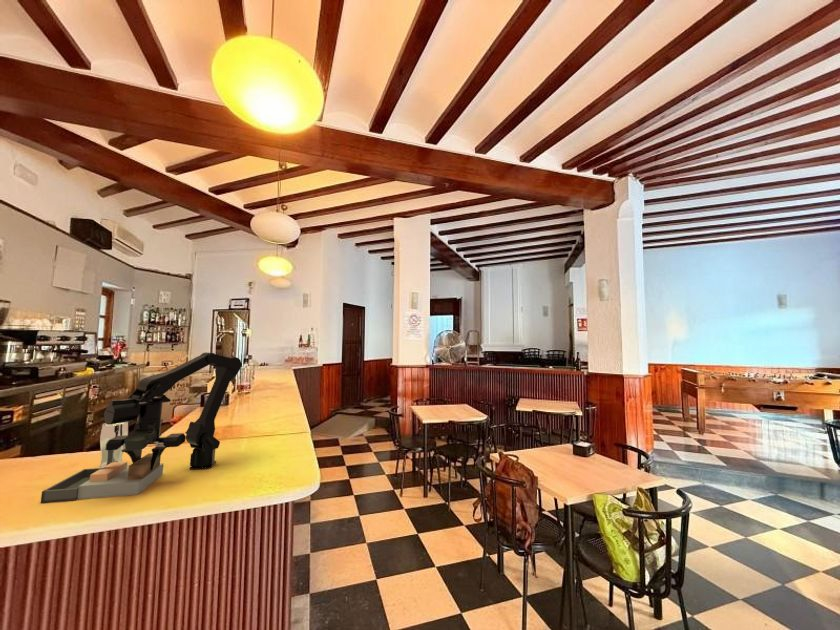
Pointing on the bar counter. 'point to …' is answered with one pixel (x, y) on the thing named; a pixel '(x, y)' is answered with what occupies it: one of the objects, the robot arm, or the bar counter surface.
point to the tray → (67, 487)
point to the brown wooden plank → (141, 467)
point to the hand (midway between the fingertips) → (144, 470)
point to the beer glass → (106, 435)
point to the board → (118, 485)
